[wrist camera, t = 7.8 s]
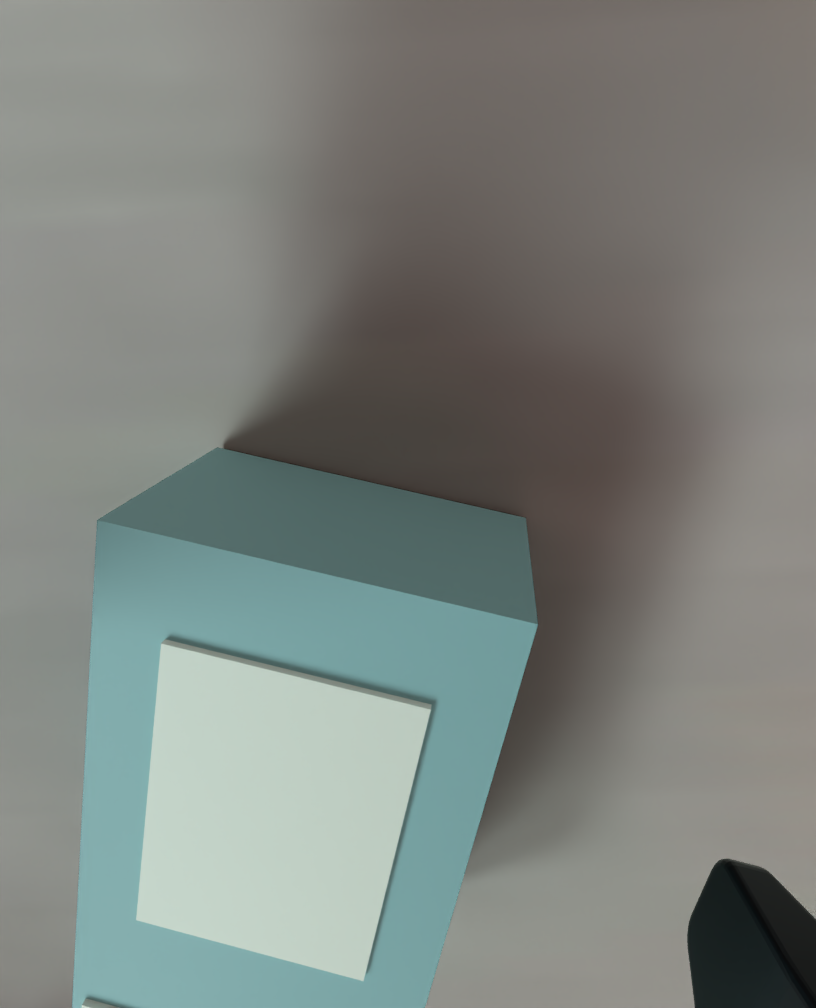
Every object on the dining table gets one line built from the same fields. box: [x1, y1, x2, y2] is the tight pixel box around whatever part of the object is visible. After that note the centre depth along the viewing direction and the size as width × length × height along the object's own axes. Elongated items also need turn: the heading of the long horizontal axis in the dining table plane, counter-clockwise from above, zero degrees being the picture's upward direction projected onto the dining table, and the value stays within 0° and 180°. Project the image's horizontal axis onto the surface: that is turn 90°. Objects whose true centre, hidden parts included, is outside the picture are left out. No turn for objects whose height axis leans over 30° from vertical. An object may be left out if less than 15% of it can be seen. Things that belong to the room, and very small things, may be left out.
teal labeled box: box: [72, 447, 538, 1008], centre depth 10 cm, size 8×5×4 cm, turn 169°
